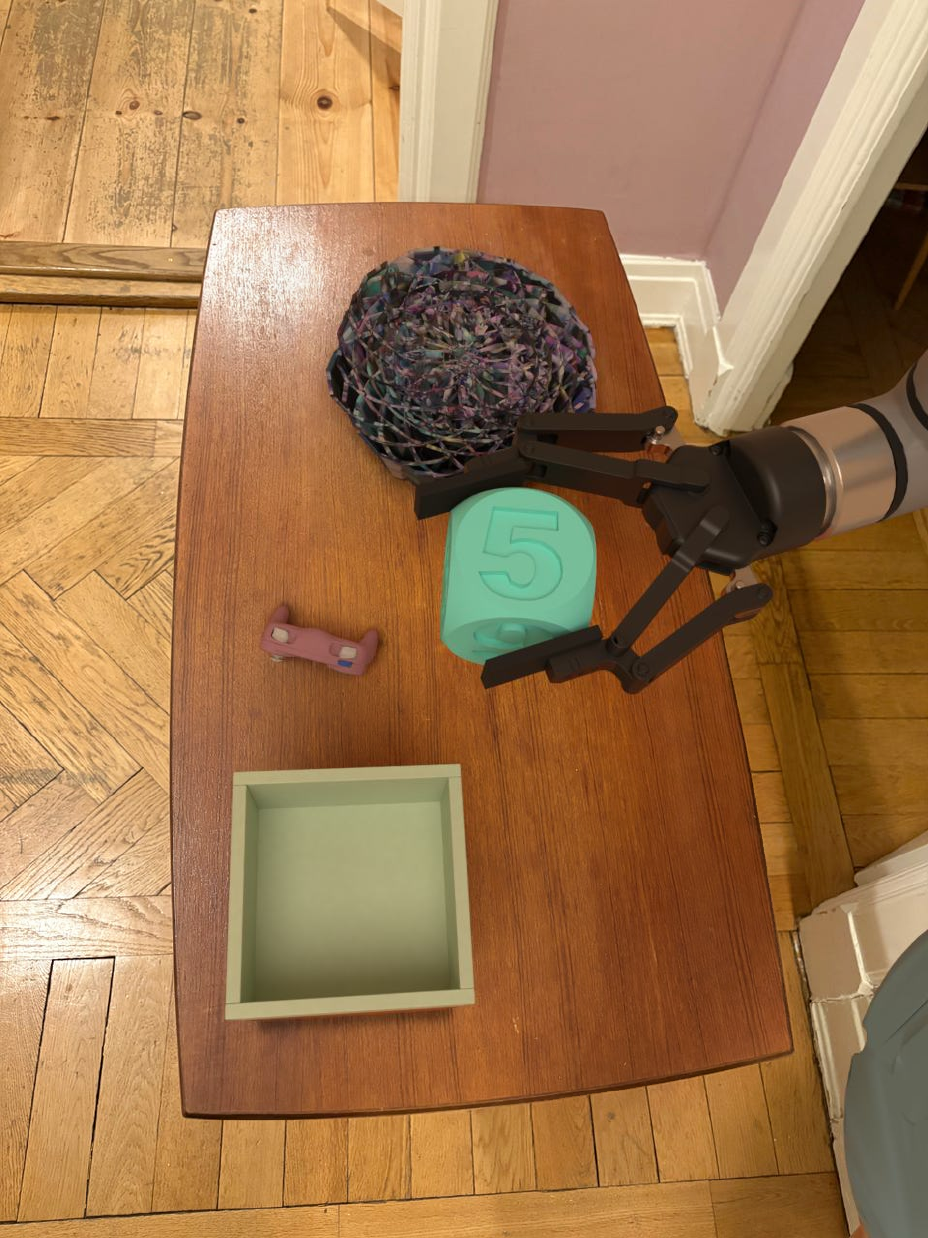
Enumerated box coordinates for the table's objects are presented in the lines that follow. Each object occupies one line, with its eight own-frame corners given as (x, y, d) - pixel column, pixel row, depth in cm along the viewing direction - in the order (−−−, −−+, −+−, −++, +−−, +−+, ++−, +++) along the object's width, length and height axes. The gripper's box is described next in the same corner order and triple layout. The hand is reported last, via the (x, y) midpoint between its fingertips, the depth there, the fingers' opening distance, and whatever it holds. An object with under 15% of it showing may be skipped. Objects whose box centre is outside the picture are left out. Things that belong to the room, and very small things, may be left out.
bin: (462, 1006, 60) (475, 1003, 52) (242, 1020, 58) (224, 1020, 51) (450, 792, 65) (460, 763, 58) (248, 800, 63) (233, 771, 56)
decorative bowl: (324, 526, 92) (319, 480, 83) (334, 289, 101) (331, 222, 91) (584, 534, 94) (608, 490, 85) (571, 302, 103) (592, 238, 94)
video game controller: (266, 651, 86) (247, 658, 79) (278, 602, 86) (260, 605, 79) (371, 679, 86) (361, 688, 79) (384, 630, 86) (375, 635, 79)
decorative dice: (568, 556, 61) (596, 491, 53) (568, 673, 57) (598, 622, 50) (443, 546, 60) (455, 479, 53) (437, 664, 57) (448, 610, 50)
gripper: (855, 674, 57) (515, 795, 52) (691, 375, 65) (382, 455, 60) (923, 625, 50) (538, 759, 45) (730, 298, 58) (385, 381, 53)
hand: (449, 586), depth 52 cm, fingers closed on decorative dice, 10 cm apart
